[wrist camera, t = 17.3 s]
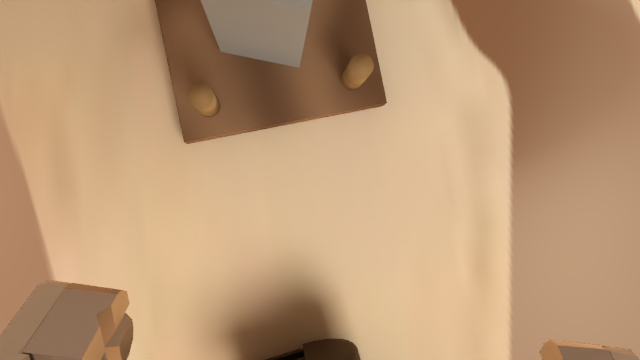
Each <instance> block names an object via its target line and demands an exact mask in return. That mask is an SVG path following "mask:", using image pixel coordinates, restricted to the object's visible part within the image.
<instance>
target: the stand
mask: <svg viewBox="0 0 640 360" xmlns="http://www.w3.org/2000/svg"><path fill="white" fill-rule="evenodd" d="M155 2H156V7H157V11H158V16H159V21H160V26H161V31H162V36H163V41H164V46H165V50H166V55H167V60H168V65H169V70H170V75H171V80H172V85H173V89H174V94H175V99H176V104H177V109H178V114H179V119H180V123H181V128H182V133H183V138H184V142H185V143H187V144H189V143H194V142H199V141H205V140H210V139H215V138H220V137H225V136H230V135H236V134H241V133H246V132H251V131H256V130H261V129H267V128H272V127H277V126H282V125H287V124H292V123H297V122H303V121H308V120H313V119H318V118H323V117H328V116H334V115H339V114H344V113H349V112H354V111H359V110H365V109H370V108H375V107H380V106H383V105H385V104H386V103H387V102H386V97H385V92H384V87H383V82H382V77H381V72H380V68H379V63H378V58H377V53H376V48H375V43H374V39H373V34H372V29H371V24H370V19H369V14H368V9H367V5H366V0H313V1H312V7H311V12H310V17H309V22H308V27H307V32H306V37H305V42H304V47H303V52H302V57H301V62H300V67H299V68H298V67H293V66H288V65H283V64H278V63H273V62H268V61H263V60H259V59H254V58H249V57H244V56H239V55H234V54H229V53H224V52H221V51H220V49H219V46H218V44H217V41H216V39H215V36H214V33H213V31H212V28H211V26H210V23H209V21H208V18H207V16H206V13H205V10H204V8H203V5H202V3H201V0H155Z"/></svg>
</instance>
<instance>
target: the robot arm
mask: <svg viewBox="0 0 640 360" xmlns="http://www.w3.org/2000/svg"><path fill="white" fill-rule="evenodd" d="M128 305H129V299H128V295H127V291H124V290H118V289H111V288H104V287H97V286H90V285H83V284H76V283H68V282H60V281H53V280H45V281H43V282H42V283H40V285H38V286H37V287H36V288H35V290H34V291H33V293H32V294H31V295H30V296H29V298H28V299H27V301H26V302H25V303H24V304H23V306H22V307H21V308H20V310H19V311H18V312H17V314H16V315H15V317H14V318H13V319H12V320H11V322H10V323H9V324H8V326H7V327H6V328H5V330H4V331H3V333H2V334H1V335H0V360H127V357H128V355H129V352H130V348H131V344H132V340H133V323H132V319H131V318H130V317H129V316H128V315H127V314H126V313H125V311H126V309H127V307H128ZM540 355H541V357H542V360H639V358H638V357H637V355H636V354H635V353H634V352H633V351H632V350H631V349H625V348H617V347H609V346H600V345H594V344H585V343H575V342H566V341H557V340H549V341H547V342H545V343H544V344H543V347H542V348H541V350H540Z"/></svg>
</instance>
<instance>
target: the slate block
mask: <svg viewBox="0 0 640 360" xmlns="http://www.w3.org/2000/svg"><path fill="white" fill-rule="evenodd" d="M312 1H313V0H201V3H202V5H203V8H204V10H205V13H206V16H207V18H208V21H209V23H210V26H211V28H212V31H213V33H214V36H215V39H216V41H217V44H218V46H219V49H220V51H221V52H224V53H229V54H234V55H239V56H244V57H249V58H254V59H259V60H263V61H268V62H273V63H278V64H283V65H288V66H293V67H298V68H299V67H300V62H301V57H302V52H303V47H304V42H305V37H306V32H307V27H308V22H309V17H310V12H311V7H312Z"/></svg>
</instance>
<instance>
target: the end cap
mask: <svg viewBox="0 0 640 360" xmlns="http://www.w3.org/2000/svg"><path fill="white" fill-rule="evenodd" d="M266 360H360V356H359V353H358V349H357V347H356V346H355V345H354V344H353V343H352V342H350V341H348V340H344V339H324V340H318V341H313V342H309V343H305V344H303V348H301V349H298V350H295V351H292V352H289V353H285V354H282V355H279V356H276V357H273V358H270V359H266Z"/></svg>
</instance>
